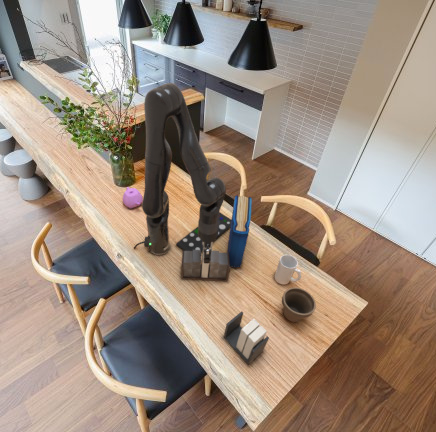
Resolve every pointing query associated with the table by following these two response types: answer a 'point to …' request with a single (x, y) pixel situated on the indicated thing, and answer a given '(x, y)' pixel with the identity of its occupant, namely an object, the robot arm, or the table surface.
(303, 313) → the flower pot
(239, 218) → the book
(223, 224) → the remote control
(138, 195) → the teapot
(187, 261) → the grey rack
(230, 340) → the dark book holder
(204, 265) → the white book
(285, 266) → the mug
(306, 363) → the table surface
